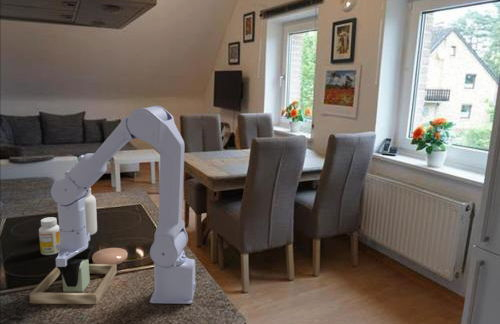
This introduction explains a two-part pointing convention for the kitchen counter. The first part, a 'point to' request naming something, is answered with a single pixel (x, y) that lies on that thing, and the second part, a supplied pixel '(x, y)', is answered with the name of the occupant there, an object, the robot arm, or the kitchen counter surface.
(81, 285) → the block
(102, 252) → the coaster
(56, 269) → the crate frame
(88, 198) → the pill bottle
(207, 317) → the kitchen counter surface
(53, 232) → the supplement bottle
